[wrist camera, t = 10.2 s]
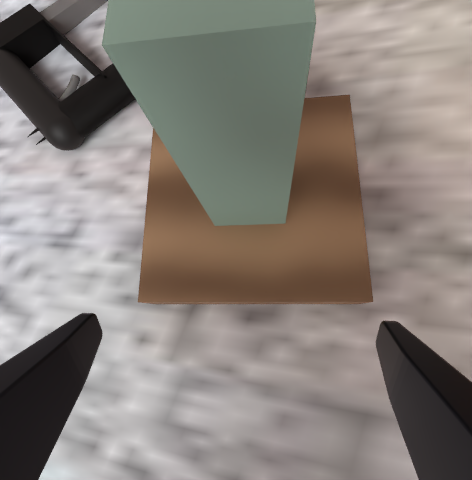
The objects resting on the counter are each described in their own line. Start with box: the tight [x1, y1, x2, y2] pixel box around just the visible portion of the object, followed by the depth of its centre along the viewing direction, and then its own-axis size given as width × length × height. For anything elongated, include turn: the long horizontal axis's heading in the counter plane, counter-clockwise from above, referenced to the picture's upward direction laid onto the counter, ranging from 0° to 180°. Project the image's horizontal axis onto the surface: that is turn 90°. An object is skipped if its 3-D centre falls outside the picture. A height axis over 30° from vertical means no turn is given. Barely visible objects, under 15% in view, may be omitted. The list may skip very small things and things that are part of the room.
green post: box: [102, 0, 316, 226], centre depth 13 cm, size 4×4×13 cm
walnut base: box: [138, 95, 373, 304], centre depth 20 cm, size 14×14×3 cm
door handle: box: [0, 0, 135, 150], centre depth 27 cm, size 3×20×16 cm
